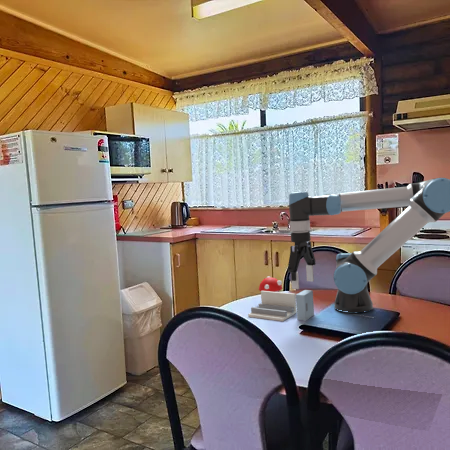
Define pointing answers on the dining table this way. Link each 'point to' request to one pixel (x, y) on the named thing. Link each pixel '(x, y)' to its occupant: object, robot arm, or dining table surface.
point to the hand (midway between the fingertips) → (303, 284)
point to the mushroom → (270, 285)
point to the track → (275, 306)
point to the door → (304, 305)
